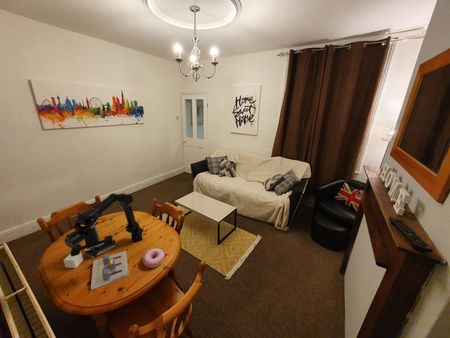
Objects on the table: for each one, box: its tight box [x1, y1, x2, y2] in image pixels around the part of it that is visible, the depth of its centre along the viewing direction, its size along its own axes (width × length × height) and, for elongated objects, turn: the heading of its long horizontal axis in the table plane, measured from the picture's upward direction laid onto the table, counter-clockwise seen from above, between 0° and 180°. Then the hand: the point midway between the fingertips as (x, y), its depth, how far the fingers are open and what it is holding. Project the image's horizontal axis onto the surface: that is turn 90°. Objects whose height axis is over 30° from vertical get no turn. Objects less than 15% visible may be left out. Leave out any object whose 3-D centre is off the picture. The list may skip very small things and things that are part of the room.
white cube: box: [63, 252, 84, 269], centre depth 110 cm, size 6×6×6 cm
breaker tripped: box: [109, 259, 115, 269], centre depth 108 cm, size 3×4×4 cm
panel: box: [90, 250, 130, 291], centre depth 108 cm, size 18×20×2 cm
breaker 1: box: [102, 253, 110, 264], centre depth 111 cm, size 3×4×4 cm
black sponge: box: [86, 239, 117, 259], centre depth 122 cm, size 16×8×4 cm, turn 140°
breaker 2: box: [102, 268, 109, 280], centre depth 102 cm, size 3×4×4 cm
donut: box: [142, 247, 166, 268], centre depth 115 cm, size 14×13×5 cm
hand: (96, 256), depth 102 cm, fingers closed
